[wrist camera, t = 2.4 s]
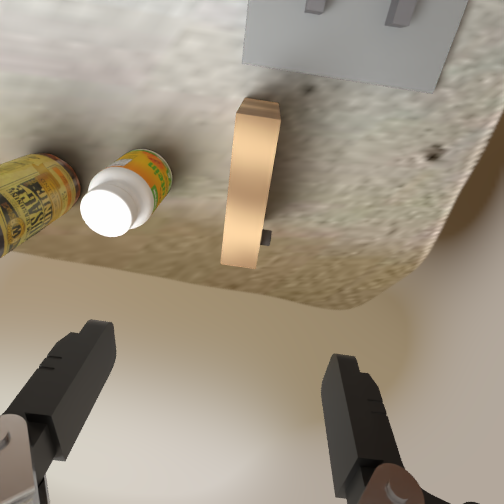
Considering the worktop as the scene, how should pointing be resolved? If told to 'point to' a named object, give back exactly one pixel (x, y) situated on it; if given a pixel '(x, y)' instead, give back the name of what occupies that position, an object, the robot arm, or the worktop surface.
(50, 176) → the sauce bottle
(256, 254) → the long tan wooden block
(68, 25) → the worktop surface
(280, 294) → the worktop surface
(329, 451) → the robot arm
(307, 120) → the worktop surface
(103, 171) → the supplement bottle
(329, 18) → the grey and brown stand
